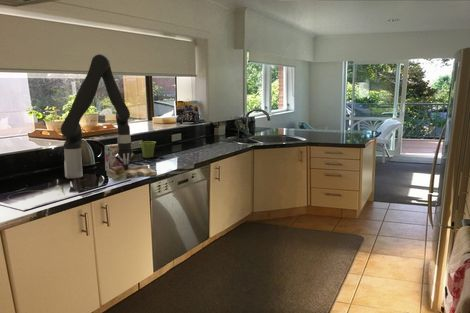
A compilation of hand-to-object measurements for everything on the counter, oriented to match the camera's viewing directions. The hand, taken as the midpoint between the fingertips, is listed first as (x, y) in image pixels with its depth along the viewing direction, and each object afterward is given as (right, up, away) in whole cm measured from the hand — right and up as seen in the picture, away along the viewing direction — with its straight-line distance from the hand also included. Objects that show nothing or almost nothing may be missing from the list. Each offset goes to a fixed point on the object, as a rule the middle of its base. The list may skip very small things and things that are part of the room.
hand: (125, 170), depth 243 cm
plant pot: (+1, +8, +57) cm, 58 cm away
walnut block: (-4, -2, -3) cm, 5 cm away
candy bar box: (-11, -1, +14) cm, 17 cm away
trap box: (+4, -3, 0) cm, 5 cm away
